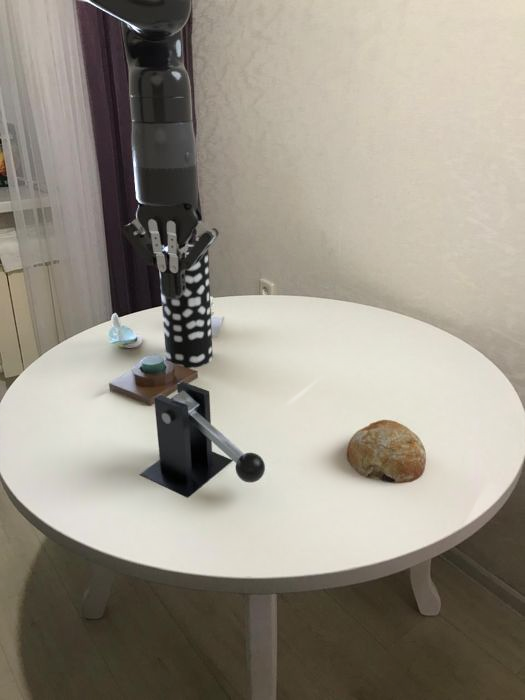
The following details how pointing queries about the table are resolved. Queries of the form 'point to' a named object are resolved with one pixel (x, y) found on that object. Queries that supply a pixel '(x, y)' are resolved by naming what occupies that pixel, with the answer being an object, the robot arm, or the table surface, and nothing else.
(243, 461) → the lever
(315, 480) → the table surface
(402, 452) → the bread roll
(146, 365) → the button
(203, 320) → the white-spotted black cylinder
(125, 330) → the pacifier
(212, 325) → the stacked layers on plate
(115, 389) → the button block
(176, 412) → the bracket
